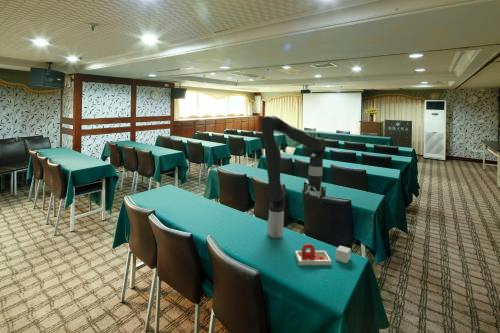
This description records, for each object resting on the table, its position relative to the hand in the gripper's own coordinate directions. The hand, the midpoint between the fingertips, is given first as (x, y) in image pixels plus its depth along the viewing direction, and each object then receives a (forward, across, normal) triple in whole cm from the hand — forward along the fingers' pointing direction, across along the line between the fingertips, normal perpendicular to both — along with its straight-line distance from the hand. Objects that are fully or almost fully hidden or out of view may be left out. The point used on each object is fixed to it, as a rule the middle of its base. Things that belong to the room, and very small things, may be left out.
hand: (313, 202), depth 157 cm
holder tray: (+28, +10, -9) cm, 31 cm away
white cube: (+28, +19, +5) cm, 34 cm away
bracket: (+27, +11, -10) cm, 31 cm away
